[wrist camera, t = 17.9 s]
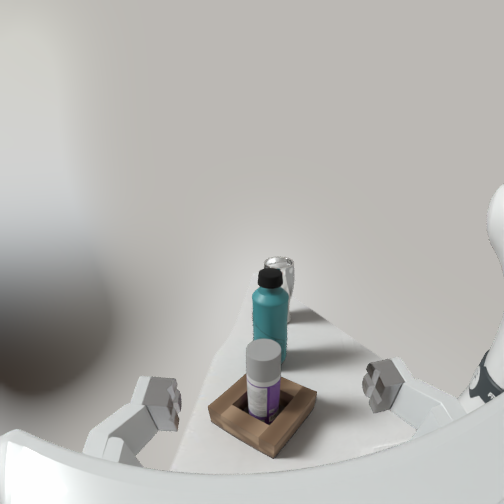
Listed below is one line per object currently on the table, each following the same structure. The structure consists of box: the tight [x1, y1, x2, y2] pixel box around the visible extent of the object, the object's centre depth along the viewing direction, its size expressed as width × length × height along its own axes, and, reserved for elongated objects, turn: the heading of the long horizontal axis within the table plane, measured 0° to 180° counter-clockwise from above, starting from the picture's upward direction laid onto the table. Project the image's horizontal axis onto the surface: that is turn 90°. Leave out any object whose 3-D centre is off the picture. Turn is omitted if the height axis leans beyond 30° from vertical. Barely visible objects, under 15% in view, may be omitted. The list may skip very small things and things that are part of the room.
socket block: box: [208, 374, 317, 459], centre depth 38 cm, size 12×12×4 cm
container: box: [246, 339, 281, 425], centre depth 36 cm, size 5×5×15 cm
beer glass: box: [264, 257, 294, 323], centre depth 63 cm, size 7×7×15 cm
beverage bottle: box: [252, 268, 289, 363], centre depth 48 cm, size 6×7×20 cm
